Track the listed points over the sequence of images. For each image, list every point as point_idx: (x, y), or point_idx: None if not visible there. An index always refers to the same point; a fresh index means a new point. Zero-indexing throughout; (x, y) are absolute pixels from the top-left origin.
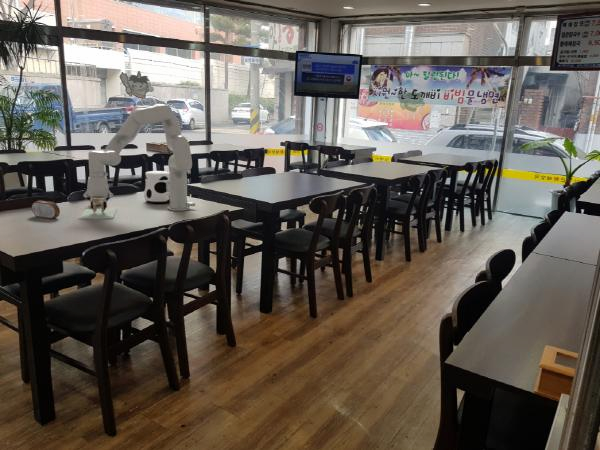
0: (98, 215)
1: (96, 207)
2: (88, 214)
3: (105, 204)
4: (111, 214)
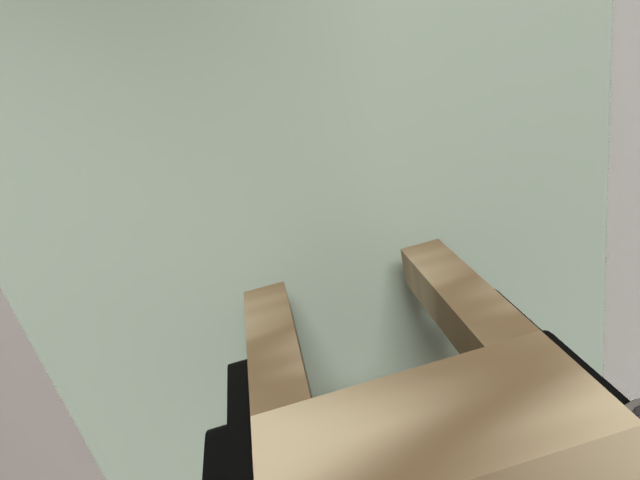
0: None
1: (293, 321)
2: None
3: None
4: None
